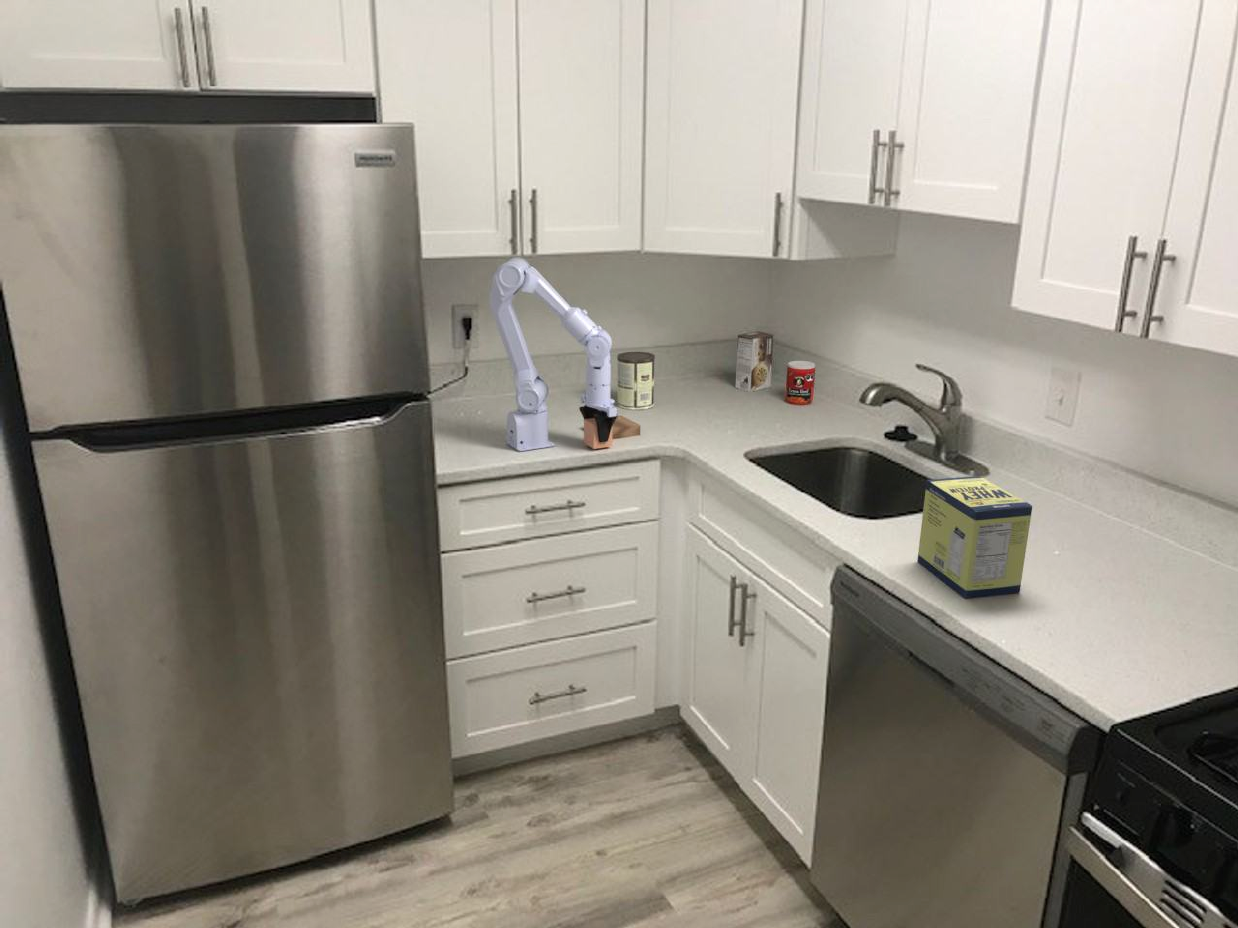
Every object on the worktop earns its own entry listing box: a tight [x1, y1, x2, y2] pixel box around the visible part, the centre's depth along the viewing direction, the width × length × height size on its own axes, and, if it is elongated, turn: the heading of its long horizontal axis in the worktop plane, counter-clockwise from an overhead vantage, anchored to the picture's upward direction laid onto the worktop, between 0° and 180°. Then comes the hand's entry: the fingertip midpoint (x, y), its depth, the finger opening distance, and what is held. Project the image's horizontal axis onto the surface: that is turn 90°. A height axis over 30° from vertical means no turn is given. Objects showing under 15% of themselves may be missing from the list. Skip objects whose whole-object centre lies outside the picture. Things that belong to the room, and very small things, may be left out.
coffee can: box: [617, 351, 656, 411], centre depth 266 cm, size 10×10×14 cm
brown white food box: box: [735, 330, 774, 393], centre depth 286 cm, size 9×6×16 cm
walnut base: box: [612, 415, 641, 440], centre depth 243 cm, size 10×10×3 cm
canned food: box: [784, 360, 816, 406], centre depth 272 cm, size 8×8×11 cm
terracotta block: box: [583, 418, 613, 450], centre depth 231 cm, size 5×5×6 cm
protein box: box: [916, 475, 1033, 599], centre depth 163 cm, size 10×16×16 cm
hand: (598, 438), depth 232 cm, fingers closed on terracotta block, 5 cm apart
